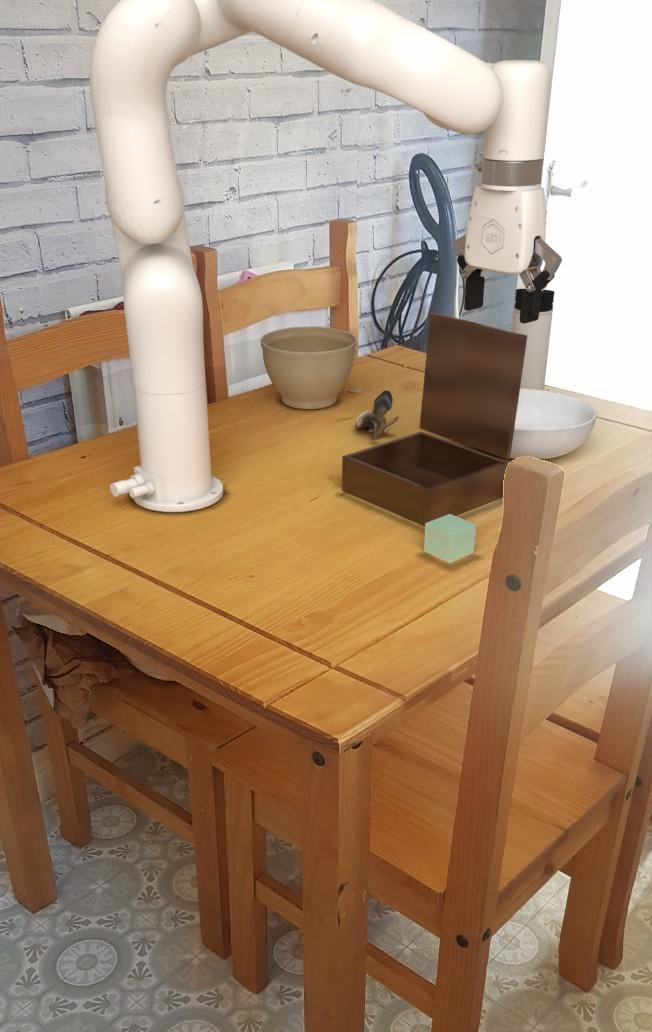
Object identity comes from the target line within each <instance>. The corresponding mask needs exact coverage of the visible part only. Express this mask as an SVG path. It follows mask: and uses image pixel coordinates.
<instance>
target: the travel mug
mask: <svg viewBox="0 0 652 1032" xmlns="http://www.w3.org/2000/svg"><path fill="white" fill-rule="evenodd" d="M523 291H527V290H526V288H516V289H515V295H514V305H513V313H512V323H511V332H515V333H519V334H523V335H527V343H526V350H525V357H524V364H523V371H522V378H521V385H520V389H536V390H544V391H545V382H546V375H547V374H546V373H547V365H548V364H547V363H548V356H549V348H550V339H551V330H552V321H553V311H554V300H555V291H554V290H551V289H542V294H541V305H540V313H539V318H538V320H537V321H533V322H529V323H525V324H524V323H521V322H520V309H521V297H522V292H523Z"/></svg>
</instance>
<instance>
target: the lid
mask: <svg viewBox="0 0 652 1032" xmlns="http://www.w3.org/2000/svg"><path fill="white" fill-rule="evenodd" d="M526 343H527V335H523V334H519V333H515V332H512V330H506V329H503V328H499V327H494V326H490V325H486V324H482V323H478V322H474V321H470V320H465V319H463V318H458V317H454V316H450V315H446V314H440V313H437V312H430V313H429V324H428V334H427V345H426V355H425V365H424V366H425V367H424V376H423V386H422V387H423V388H422V396H421V397H422V398H421V407H420V408H421V410H420V417H419V429H420V430H422V431H426V432H429V433H431V434H434V435H436V436H440V437H443V438H445V439H448V440H451V441H453V442H457V443H460V444H463V445H466V446H468V447H471V448H474V449H477V450H479V451H482V452H485V453H488V454H491V455H494V456H497V457H498V458H502V459H506V460H508V459H511V458H510V456H511V449H512V442H513V434H514V427H515V420H516V413H517V406H518V399H519V392H520V385H521V378H522V371H523V364H524V357H525V350H526Z"/></svg>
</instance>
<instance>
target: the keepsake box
mask: <svg viewBox="0 0 652 1032" xmlns="http://www.w3.org/2000/svg"><path fill="white" fill-rule="evenodd" d="M341 459H342V460H341V492H344V493H347V494H349V495H350V496H353V497H356V498H357V499H360V500H362V501H365V502H366V503H369V504H371V505H374V506H376V507H378V508H381V509H383V510H385V511H388V512H390V513H392V514H395V515H397V516H399V517H402V518H404V519H406V520H408V521H411V522H413V523H415V524H418V525H420V526H423V527H425V523H427V522H430V521H433V520H435V519H438V518H440V517H443V516H445V515H448V514H452V515H454V516H456V517H458V516H459V515H462V514H464V513H467V512H470V511H472V510H475V509H478V508H480V507H482V506H485V505H488V504H491V503H493V502H495V501H498V500H500V499H504V497H503V480H504V474H505V470H506V467H507V468H508V466H507V465H508V464H509V462H508V461H506V460H503V459H501V458H499V457H495V456H492V455H490V454H486V453H484V452H481V451H478V450H475V449H473V448H469V447H467V446H464V445H461V444H458V443H455V442H452V441H449V440H446V439H444V438H441V437H438V436H435V435H432V434H429V433H427V432H424V431H418V432H414V433H411V434H409V435H405V436H402V437H399V438H396V439H392V440H389V441H386V442H383V443H379V444H376V445H374V446H373V445H372V446H370V447H367V448H364V449H361V450H357V451H354V452H351V453H348V454H345V455H342V456H341Z"/></svg>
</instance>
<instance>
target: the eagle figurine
mask: <svg viewBox="0 0 652 1032" xmlns="http://www.w3.org/2000/svg"><path fill="white" fill-rule="evenodd" d="M393 401H394V398H393V395H392V393H391V391H390V390H386V389H385V390H383V391H382V392H381V393H380V394H379V395H378V396H376V398H375V399H374V400H373V406H372V411H371V412H370V410H365V411H364V412H362V413H361V414H359V415H358V416H357V417H356V420H355V425H354V427H355V428H359V427H364V426H367V427H368V428H369V429H368V432H369V433H372V434H373V442H374V441H378V440H379V439H380V437H381V435H382V433H383V434H386V435H387V436H388V437H390V436H391V435H390V432H389V428H388V427H389V426H391V425H393V424H395V423H396V422H397V421H398V420H399V417H400V416H399V415H397V416H395V417H394V418H393V419H391V420H389V421H388V422H387V418H386V414H388V412H390V411H391V409H392V408H393Z"/></svg>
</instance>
